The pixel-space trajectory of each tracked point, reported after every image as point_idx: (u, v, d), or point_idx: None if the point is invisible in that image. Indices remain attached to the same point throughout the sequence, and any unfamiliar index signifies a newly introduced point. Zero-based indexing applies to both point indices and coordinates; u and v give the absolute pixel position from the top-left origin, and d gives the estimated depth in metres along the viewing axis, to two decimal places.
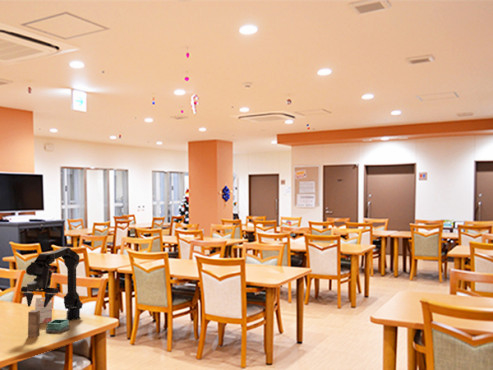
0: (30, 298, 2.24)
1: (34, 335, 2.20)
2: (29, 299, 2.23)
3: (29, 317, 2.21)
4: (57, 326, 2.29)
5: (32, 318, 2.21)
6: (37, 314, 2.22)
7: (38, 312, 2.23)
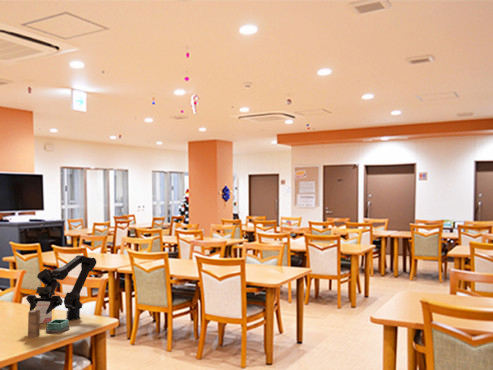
0: (33, 306, 2.30)
1: (34, 335, 2.20)
2: (32, 307, 2.29)
3: (29, 317, 2.21)
4: (57, 326, 2.29)
5: (32, 318, 2.21)
6: (37, 314, 2.22)
7: (38, 312, 2.23)
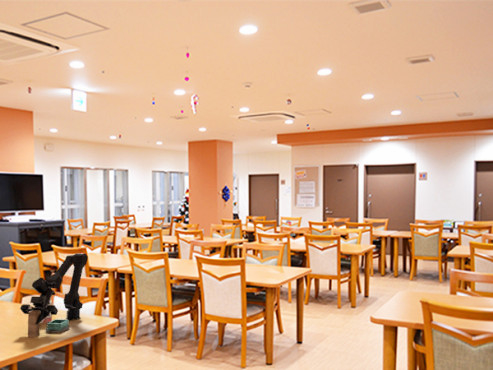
0: None
1: (34, 335, 2.20)
2: None
3: (29, 317, 2.21)
4: (57, 326, 2.29)
5: (32, 318, 2.21)
6: (37, 314, 2.22)
7: (38, 312, 2.23)
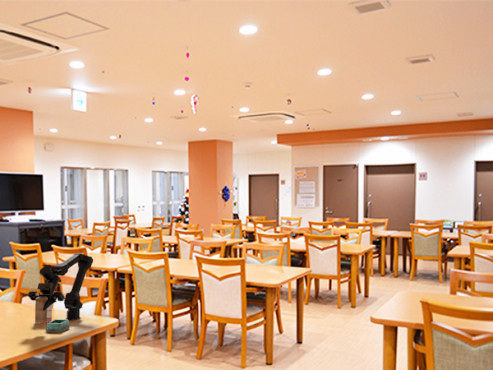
0: None
1: (41, 321, 2.24)
2: None
3: (36, 303, 2.24)
4: (57, 326, 2.29)
5: (40, 305, 2.24)
6: (44, 300, 2.26)
7: (45, 298, 2.26)
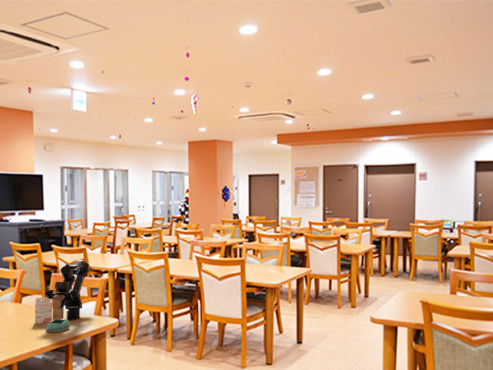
0: None
1: (59, 318, 2.31)
2: None
3: (54, 301, 2.32)
4: (57, 326, 2.29)
5: (57, 302, 2.32)
6: (61, 298, 2.33)
7: (62, 297, 2.34)
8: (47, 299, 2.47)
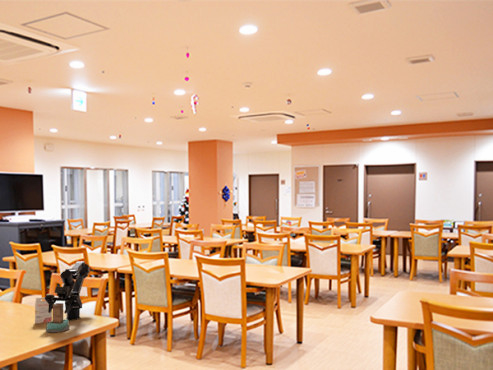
0: (51, 306, 2.36)
1: None
2: (51, 306, 2.35)
3: (53, 310, 2.32)
4: (57, 326, 2.29)
5: (57, 311, 2.31)
6: (61, 307, 2.33)
7: (62, 305, 2.34)
8: None
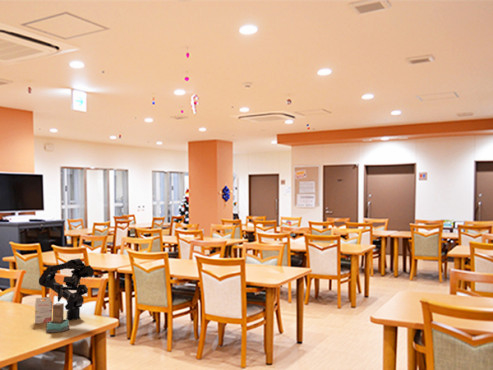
0: (60, 295, 2.46)
1: None
2: (60, 295, 2.45)
3: (54, 310, 2.32)
4: (57, 326, 2.29)
5: (57, 311, 2.31)
6: (61, 307, 2.33)
7: (62, 305, 2.34)
8: (47, 299, 2.47)
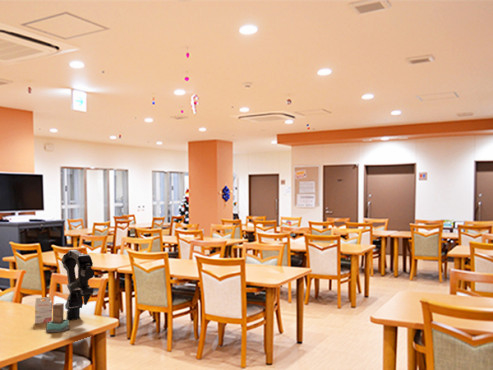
0: (80, 294, 2.48)
1: None
2: (79, 295, 2.48)
3: (54, 310, 2.32)
4: (57, 326, 2.29)
5: (57, 311, 2.31)
6: (61, 307, 2.33)
7: (62, 305, 2.34)
8: (47, 299, 2.47)
